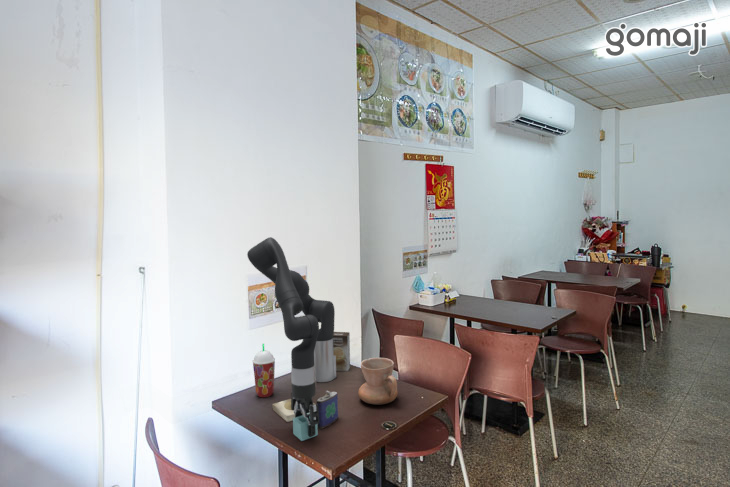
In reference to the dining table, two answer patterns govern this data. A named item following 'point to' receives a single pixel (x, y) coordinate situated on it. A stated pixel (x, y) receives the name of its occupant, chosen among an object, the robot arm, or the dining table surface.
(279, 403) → the shaft stand
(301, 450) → the dining table surface
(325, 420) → the flask
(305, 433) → the teal hollow block
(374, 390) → the ceramic jug
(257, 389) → the smoothie
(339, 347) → the coffee box
